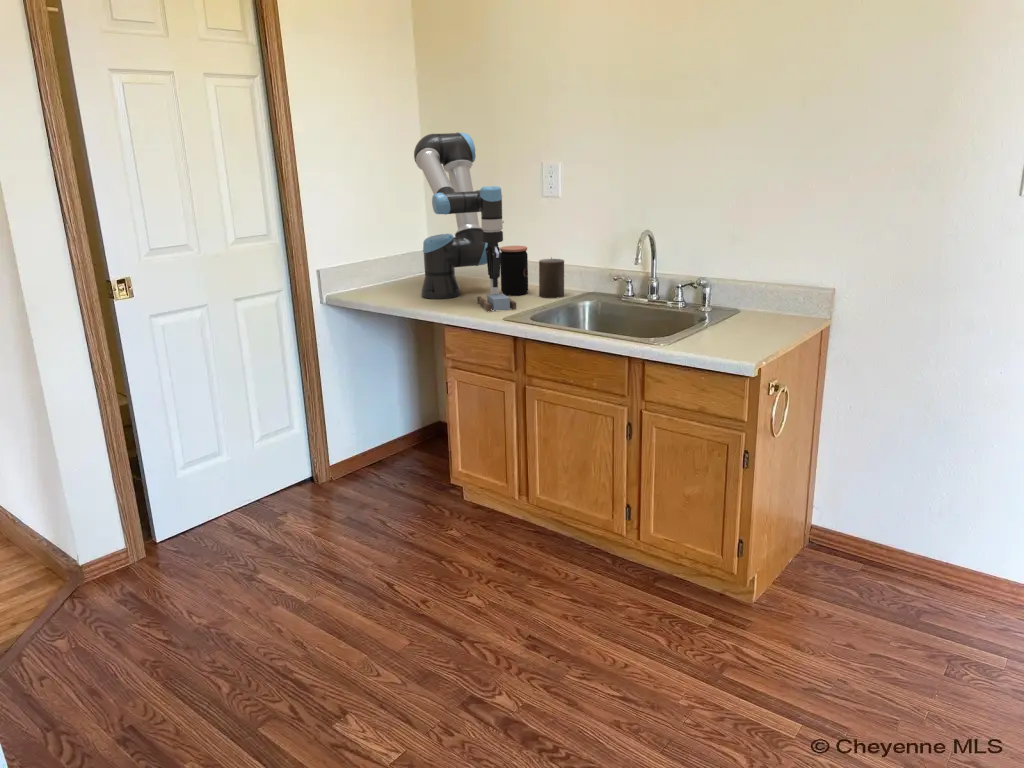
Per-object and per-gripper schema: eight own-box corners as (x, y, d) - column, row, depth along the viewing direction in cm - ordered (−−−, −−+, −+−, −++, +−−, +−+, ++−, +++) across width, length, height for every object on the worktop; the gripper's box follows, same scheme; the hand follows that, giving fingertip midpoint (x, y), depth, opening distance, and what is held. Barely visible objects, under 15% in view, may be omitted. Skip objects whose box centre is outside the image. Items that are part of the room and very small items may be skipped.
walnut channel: (477, 303, 295) (477, 296, 294) (504, 300, 297) (503, 294, 297) (488, 312, 280) (488, 305, 279) (516, 309, 283) (516, 302, 282)
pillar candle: (555, 299, 298) (555, 259, 293) (534, 296, 303) (533, 257, 299) (569, 295, 305) (569, 256, 301) (548, 292, 311) (548, 254, 306)
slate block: (487, 306, 289) (487, 294, 288) (503, 305, 291) (502, 293, 289) (493, 311, 281) (493, 299, 279) (509, 310, 282) (509, 298, 281)
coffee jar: (529, 295, 306) (528, 249, 300) (502, 296, 305) (500, 250, 299) (527, 290, 316) (526, 245, 310) (500, 291, 315) (499, 246, 309)
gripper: (507, 232, 277) (509, 298, 284) (497, 228, 289) (499, 291, 296) (486, 233, 275) (489, 299, 282) (477, 229, 287) (480, 293, 294)
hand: (494, 295), depth 289 cm, fingers closed
